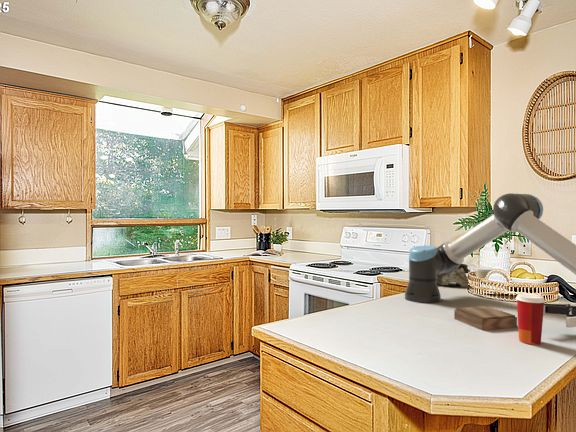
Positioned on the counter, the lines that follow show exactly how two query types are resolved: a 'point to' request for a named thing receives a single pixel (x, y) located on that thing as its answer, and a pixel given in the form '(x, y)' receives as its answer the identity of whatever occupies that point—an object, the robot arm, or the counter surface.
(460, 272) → the hollow geode rock
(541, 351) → the counter surface
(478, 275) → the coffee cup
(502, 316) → the walnut plinth
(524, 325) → the paper cup
